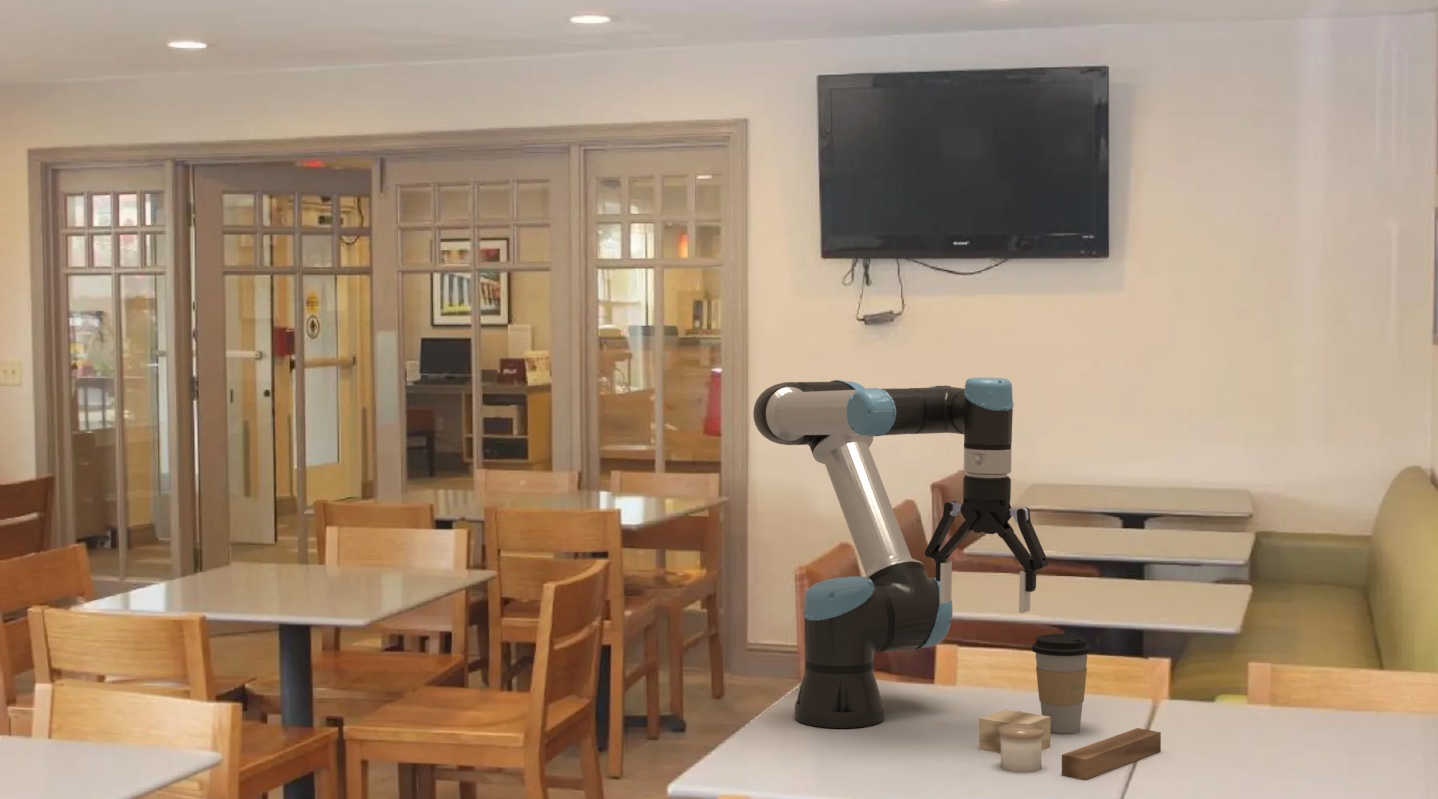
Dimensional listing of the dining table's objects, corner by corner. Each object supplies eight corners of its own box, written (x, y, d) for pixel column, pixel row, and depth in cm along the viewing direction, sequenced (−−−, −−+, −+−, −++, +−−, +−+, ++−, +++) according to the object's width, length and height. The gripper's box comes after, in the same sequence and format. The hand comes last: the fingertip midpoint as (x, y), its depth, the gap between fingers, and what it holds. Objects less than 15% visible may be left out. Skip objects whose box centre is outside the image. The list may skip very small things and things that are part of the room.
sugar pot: (989, 767, 242) (989, 729, 241) (1014, 759, 246) (1014, 721, 246) (1027, 775, 237) (1027, 736, 237) (1052, 766, 242) (1052, 728, 242)
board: (1061, 775, 237) (1061, 754, 237) (1137, 747, 253) (1137, 728, 253) (1085, 780, 234) (1085, 759, 234) (1160, 751, 250) (1160, 732, 250)
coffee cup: (1091, 737, 259) (1091, 644, 258) (1031, 735, 261) (1031, 642, 260) (1089, 724, 268) (1089, 634, 268) (1031, 721, 270) (1031, 632, 270)
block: (979, 750, 253) (979, 718, 252) (1006, 740, 259) (1005, 709, 258) (1024, 758, 247) (1024, 725, 247) (1050, 748, 253) (1050, 716, 253)
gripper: (905, 471, 261) (903, 601, 262) (1052, 482, 247) (1049, 619, 249) (926, 467, 267) (923, 594, 269) (1070, 478, 254) (1067, 611, 255)
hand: (984, 606), depth 259 cm, fingers open, 13 cm apart
